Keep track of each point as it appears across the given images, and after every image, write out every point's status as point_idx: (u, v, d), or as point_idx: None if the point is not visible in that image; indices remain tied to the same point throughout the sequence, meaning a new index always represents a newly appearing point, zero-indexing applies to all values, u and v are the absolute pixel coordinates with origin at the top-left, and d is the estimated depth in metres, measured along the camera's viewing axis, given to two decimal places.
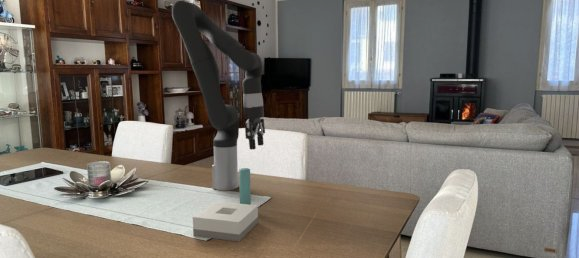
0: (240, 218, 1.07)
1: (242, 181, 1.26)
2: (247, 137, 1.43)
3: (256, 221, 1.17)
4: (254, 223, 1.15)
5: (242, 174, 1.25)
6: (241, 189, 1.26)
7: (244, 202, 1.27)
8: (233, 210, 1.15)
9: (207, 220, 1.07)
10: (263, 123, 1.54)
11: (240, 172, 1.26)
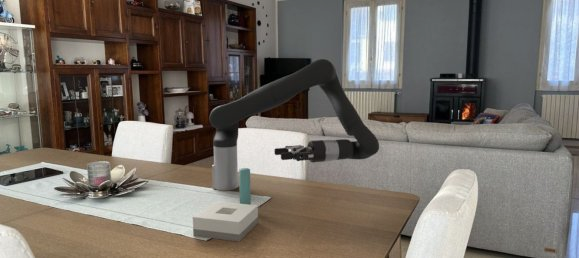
0: (240, 218, 1.07)
1: (241, 181, 1.26)
2: (298, 155, 1.24)
3: (256, 221, 1.17)
4: (254, 223, 1.15)
5: (242, 174, 1.25)
6: (241, 189, 1.26)
7: (244, 202, 1.27)
8: (233, 210, 1.15)
9: (207, 220, 1.07)
10: None
11: (240, 172, 1.26)
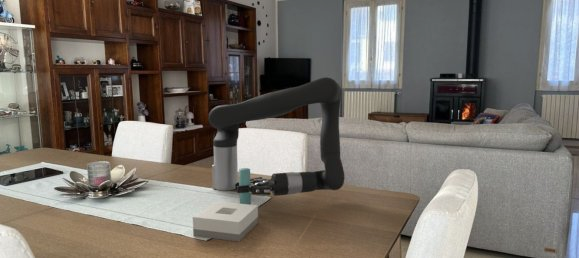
0: (240, 218, 1.07)
1: (241, 181, 1.26)
2: (253, 189, 1.24)
3: (256, 221, 1.17)
4: (254, 223, 1.15)
5: (242, 174, 1.25)
6: None
7: (244, 202, 1.27)
8: (233, 210, 1.15)
9: (207, 220, 1.07)
10: None
11: (240, 172, 1.26)
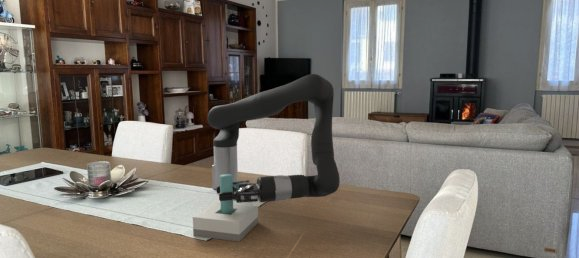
0: (240, 218, 1.07)
1: (222, 189, 1.10)
2: (238, 196, 1.07)
3: (256, 221, 1.17)
4: (254, 223, 1.15)
5: (223, 181, 1.10)
6: None
7: (225, 213, 1.11)
8: (233, 210, 1.15)
9: (207, 220, 1.07)
10: None
11: (220, 179, 1.10)
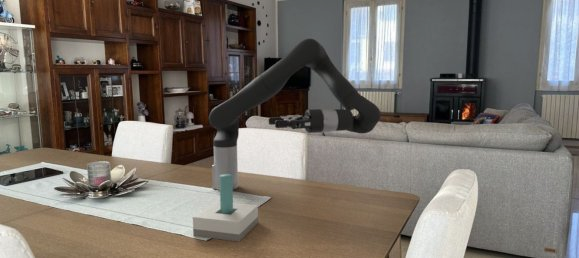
0: (240, 218, 1.07)
1: (222, 189, 1.10)
2: (293, 122, 1.15)
3: (256, 221, 1.17)
4: (254, 223, 1.15)
5: (223, 181, 1.10)
6: (222, 198, 1.11)
7: (225, 213, 1.11)
8: (233, 210, 1.15)
9: (207, 220, 1.07)
10: None
11: (220, 179, 1.10)
